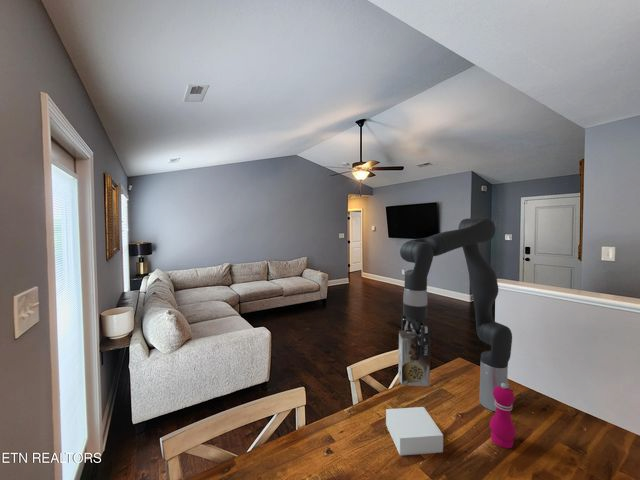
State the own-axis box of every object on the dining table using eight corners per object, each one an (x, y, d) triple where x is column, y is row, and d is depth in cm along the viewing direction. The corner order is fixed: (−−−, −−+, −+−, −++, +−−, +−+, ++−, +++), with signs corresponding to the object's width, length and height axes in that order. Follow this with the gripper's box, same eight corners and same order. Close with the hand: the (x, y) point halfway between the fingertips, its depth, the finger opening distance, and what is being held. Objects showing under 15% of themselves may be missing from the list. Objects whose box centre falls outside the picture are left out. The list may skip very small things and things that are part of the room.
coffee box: (424, 376, 100) (425, 330, 99) (429, 387, 94) (431, 338, 93) (397, 375, 101) (398, 329, 100) (400, 385, 95) (401, 337, 93)
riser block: (423, 422, 106) (423, 406, 106) (442, 453, 92) (443, 435, 92) (385, 425, 105) (386, 409, 104) (399, 456, 91) (400, 438, 91)
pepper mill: (511, 436, 99) (513, 379, 97) (518, 452, 92) (520, 391, 90) (487, 431, 101) (489, 375, 100) (492, 446, 94) (494, 387, 93)
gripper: (438, 307, 89) (437, 359, 90) (414, 295, 103) (413, 340, 104) (416, 309, 88) (415, 361, 89) (394, 297, 102) (393, 342, 103)
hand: (414, 350), depth 97 cm, fingers closed on coffee box, 7 cm apart
